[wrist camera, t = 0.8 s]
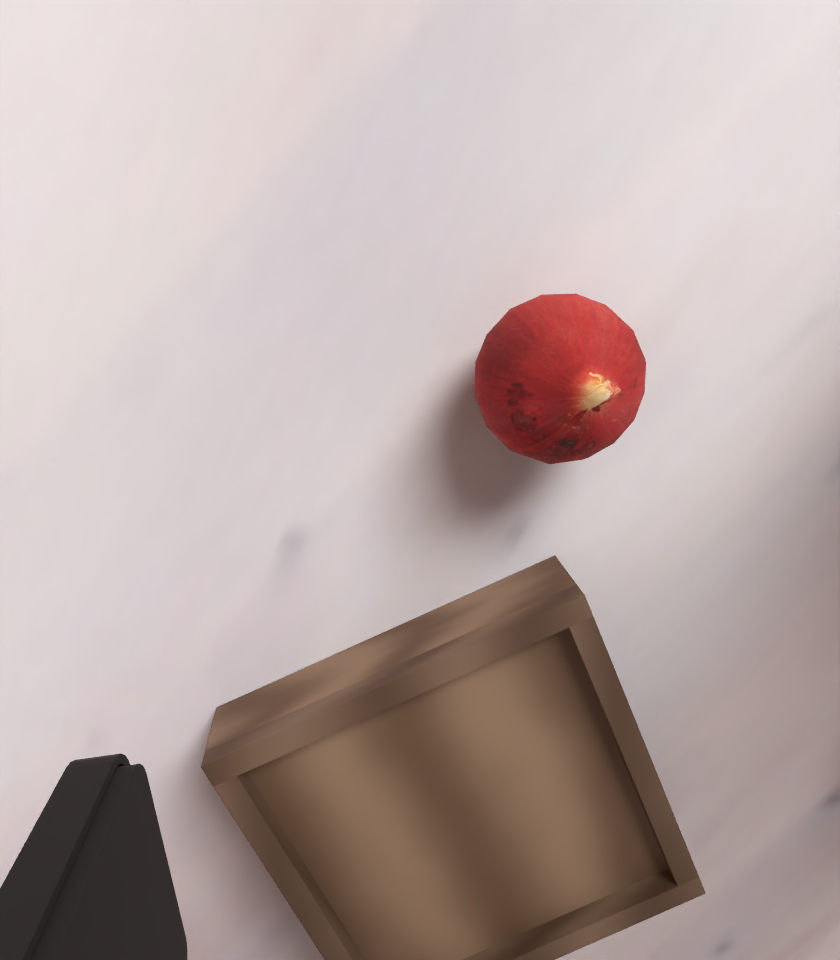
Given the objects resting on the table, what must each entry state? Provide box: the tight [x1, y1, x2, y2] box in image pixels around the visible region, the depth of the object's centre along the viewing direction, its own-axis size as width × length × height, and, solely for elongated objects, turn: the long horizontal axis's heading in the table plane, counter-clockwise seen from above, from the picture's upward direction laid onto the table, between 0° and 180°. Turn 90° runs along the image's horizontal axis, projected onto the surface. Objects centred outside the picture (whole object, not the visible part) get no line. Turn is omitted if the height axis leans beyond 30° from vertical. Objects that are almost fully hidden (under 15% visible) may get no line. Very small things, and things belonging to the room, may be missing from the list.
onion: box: [475, 294, 646, 464], centre depth 26 cm, size 6×6×8 cm
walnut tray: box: [201, 556, 705, 960], centre depth 33 cm, size 16×16×4 cm
